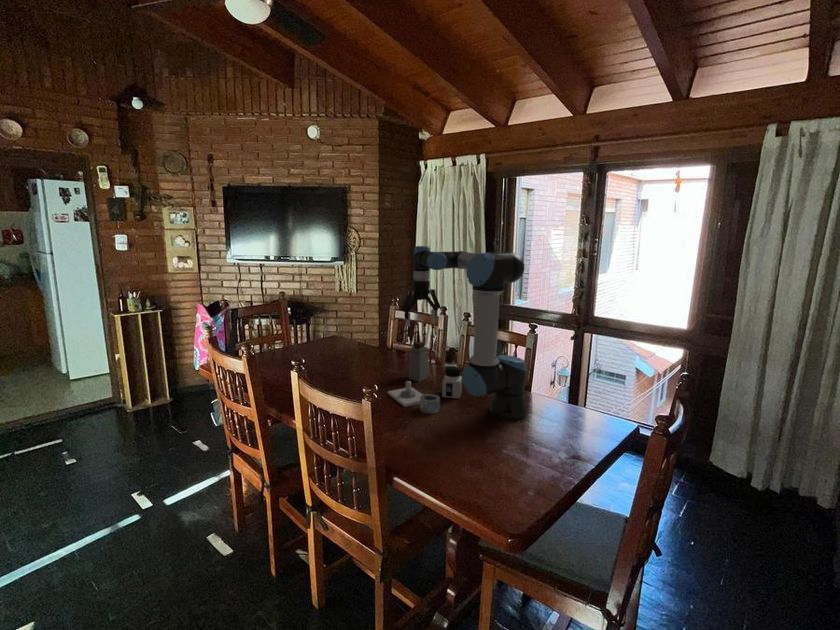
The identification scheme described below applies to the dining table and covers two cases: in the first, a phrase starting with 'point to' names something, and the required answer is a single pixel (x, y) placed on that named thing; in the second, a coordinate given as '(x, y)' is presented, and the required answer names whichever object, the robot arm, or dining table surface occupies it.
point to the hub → (430, 403)
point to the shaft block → (406, 395)
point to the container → (452, 382)
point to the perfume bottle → (418, 362)
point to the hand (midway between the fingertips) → (420, 324)
